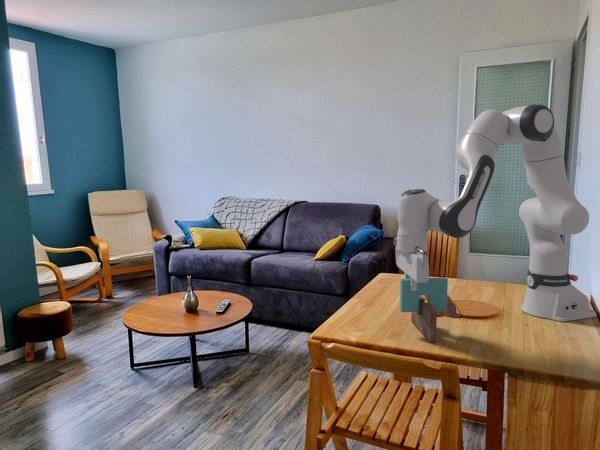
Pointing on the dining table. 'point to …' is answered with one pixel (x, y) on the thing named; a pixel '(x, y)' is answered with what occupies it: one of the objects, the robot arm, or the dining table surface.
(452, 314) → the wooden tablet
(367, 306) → the dining table surface
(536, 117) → the robot arm
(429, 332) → the walnut slotted plate
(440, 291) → the teal slotted plate
